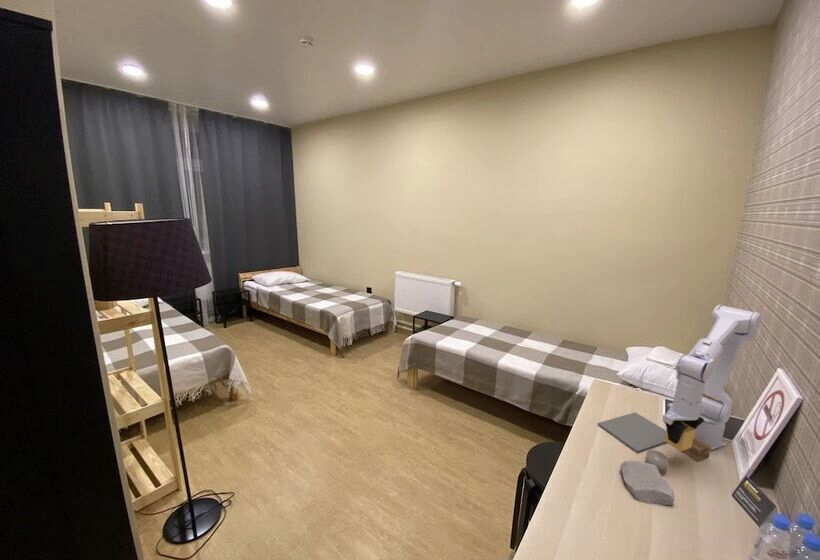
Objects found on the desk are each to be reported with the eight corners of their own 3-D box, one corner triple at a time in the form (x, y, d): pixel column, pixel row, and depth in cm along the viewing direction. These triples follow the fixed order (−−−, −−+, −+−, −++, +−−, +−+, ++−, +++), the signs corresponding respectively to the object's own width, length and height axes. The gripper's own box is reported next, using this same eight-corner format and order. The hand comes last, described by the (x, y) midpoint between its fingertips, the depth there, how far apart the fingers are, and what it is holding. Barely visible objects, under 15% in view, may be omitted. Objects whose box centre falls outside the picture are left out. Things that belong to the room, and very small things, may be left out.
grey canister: (651, 459, 99) (653, 448, 98) (669, 472, 94) (672, 460, 94) (640, 464, 97) (642, 452, 96) (658, 477, 93) (660, 465, 92)
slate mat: (634, 414, 120) (635, 412, 120) (676, 439, 108) (677, 437, 107) (597, 425, 114) (597, 423, 114) (637, 453, 101) (637, 451, 101)
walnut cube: (690, 447, 104) (692, 435, 104) (708, 458, 100) (711, 446, 99) (679, 450, 103) (681, 439, 102) (697, 462, 98) (699, 450, 97)
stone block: (634, 508, 85) (678, 508, 83) (632, 492, 85) (677, 491, 83) (615, 473, 97) (653, 472, 95) (613, 459, 96) (652, 457, 94)
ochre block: (674, 437, 100) (678, 419, 98) (691, 447, 96) (695, 429, 94) (664, 440, 98) (667, 423, 97) (680, 451, 94) (684, 432, 93)
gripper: (689, 385, 100) (680, 425, 103) (655, 394, 95) (647, 436, 98) (717, 398, 93) (706, 440, 96) (682, 408, 88) (673, 452, 91)
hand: (678, 439), depth 97 cm, fingers closed on ochre block, 4 cm apart
